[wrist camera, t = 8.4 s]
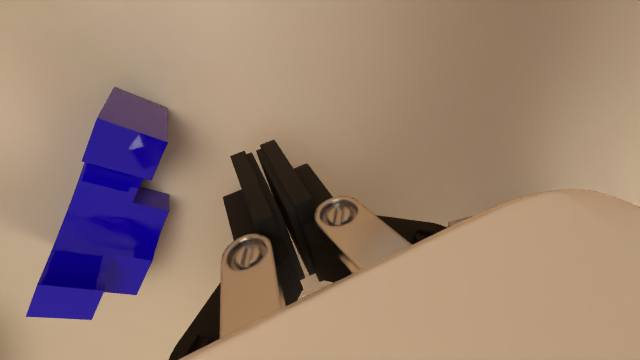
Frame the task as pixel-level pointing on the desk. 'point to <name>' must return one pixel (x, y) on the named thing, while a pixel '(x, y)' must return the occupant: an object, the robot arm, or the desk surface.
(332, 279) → the robot arm
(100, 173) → the cable holder
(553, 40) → the desk surface
